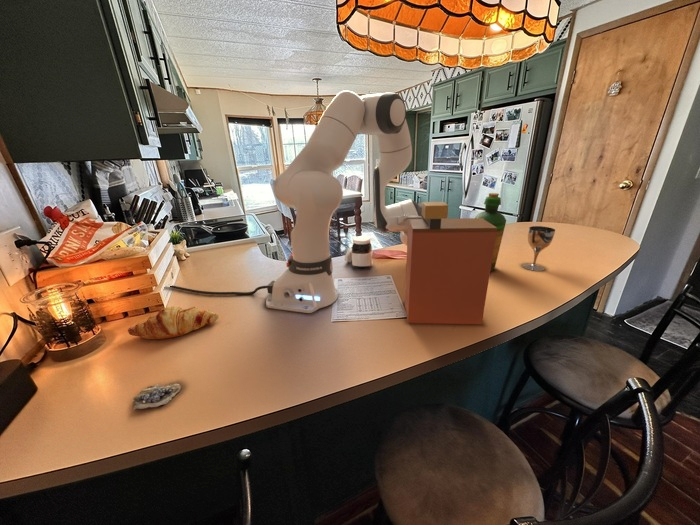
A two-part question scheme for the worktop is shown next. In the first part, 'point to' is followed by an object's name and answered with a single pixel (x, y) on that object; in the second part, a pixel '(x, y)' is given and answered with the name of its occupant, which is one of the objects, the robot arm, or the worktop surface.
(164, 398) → the crystal geode
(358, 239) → the spread jar
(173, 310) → the croissant
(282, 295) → the robot arm
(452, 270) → the stand
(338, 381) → the worktop surface
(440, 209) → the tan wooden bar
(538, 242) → the silver goblet
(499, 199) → the bottle
